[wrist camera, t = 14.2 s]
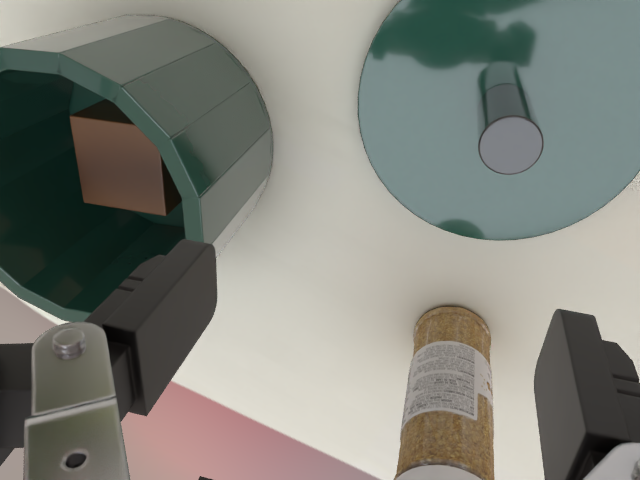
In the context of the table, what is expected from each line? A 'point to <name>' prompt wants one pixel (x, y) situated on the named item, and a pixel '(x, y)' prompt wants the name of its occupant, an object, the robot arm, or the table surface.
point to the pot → (158, 126)
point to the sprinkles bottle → (448, 400)
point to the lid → (504, 111)
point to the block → (120, 162)
